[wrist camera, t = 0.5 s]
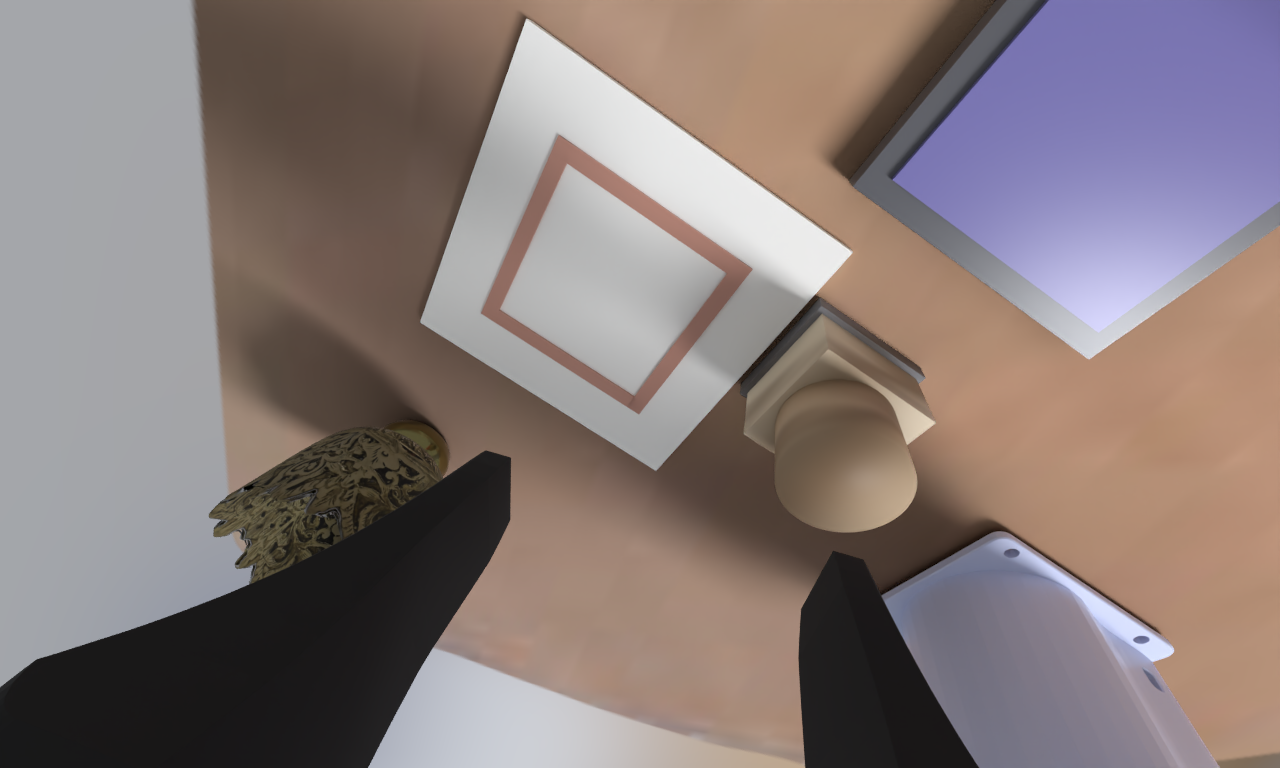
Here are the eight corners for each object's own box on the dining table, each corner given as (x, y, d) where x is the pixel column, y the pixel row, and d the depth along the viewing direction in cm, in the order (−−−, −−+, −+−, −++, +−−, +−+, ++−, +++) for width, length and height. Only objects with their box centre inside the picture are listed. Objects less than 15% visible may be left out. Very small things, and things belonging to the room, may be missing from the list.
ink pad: (1471, 52, 11) (1540, 50, 10) (1072, 344, 16) (1092, 362, 15) (1173, -218, 10) (1216, -250, 9) (848, 180, 15) (853, 187, 14)
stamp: (920, 366, 18) (975, 481, 13) (831, 442, 20) (848, 563, 15) (819, 296, 17) (836, 386, 12) (741, 383, 20) (728, 487, 15)
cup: (340, 368, 24) (173, 478, 17) (481, 394, 23) (359, 524, 16) (375, 482, 28) (250, 607, 21) (496, 510, 27) (403, 652, 20)
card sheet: (851, 249, 16) (853, 253, 16) (657, 466, 23) (655, 472, 22) (530, 19, 15) (524, 18, 14) (424, 319, 21) (418, 323, 21)
